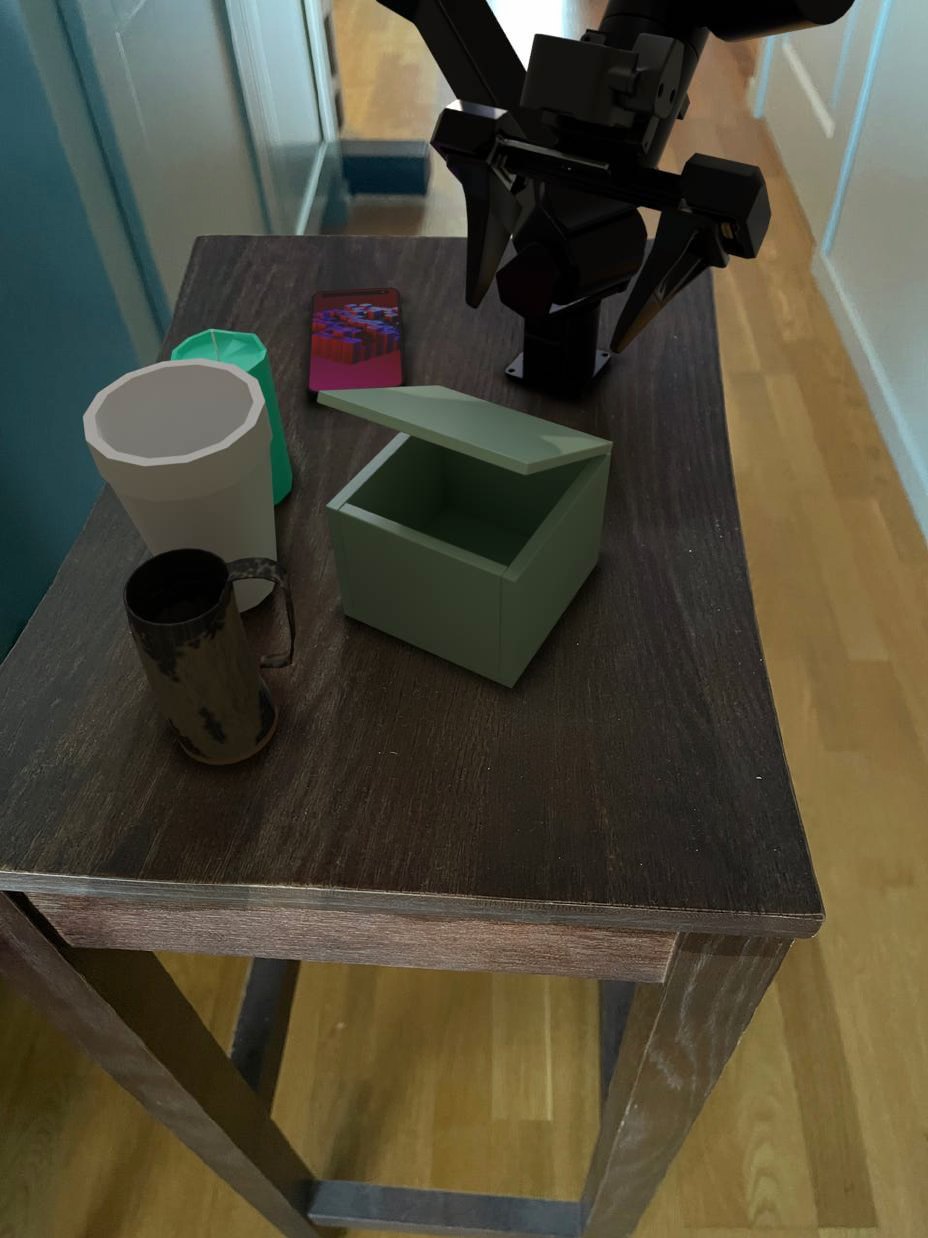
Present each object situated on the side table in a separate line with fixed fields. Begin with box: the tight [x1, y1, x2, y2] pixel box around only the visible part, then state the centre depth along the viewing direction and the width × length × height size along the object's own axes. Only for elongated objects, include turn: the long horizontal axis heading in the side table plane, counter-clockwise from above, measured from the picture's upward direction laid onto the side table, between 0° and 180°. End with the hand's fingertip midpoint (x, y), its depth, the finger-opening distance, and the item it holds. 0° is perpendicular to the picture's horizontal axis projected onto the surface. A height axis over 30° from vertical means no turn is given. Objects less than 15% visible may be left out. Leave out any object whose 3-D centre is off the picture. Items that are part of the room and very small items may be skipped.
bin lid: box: [316, 384, 614, 475], centre depth 48 cm, size 12×12×1 cm
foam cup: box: [82, 358, 278, 614], centre depth 53 cm, size 10×9×13 cm
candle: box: [169, 328, 293, 506], centre depth 60 cm, size 6×6×12 cm
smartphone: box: [305, 286, 406, 401], centre depth 75 cm, size 8×1×15 cm
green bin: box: [325, 431, 612, 689], centre depth 54 cm, size 12×12×9 cm
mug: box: [122, 548, 297, 766], centre depth 46 cm, size 8×6×12 cm
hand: (540, 328), depth 52 cm, fingers open, 9 cm apart
